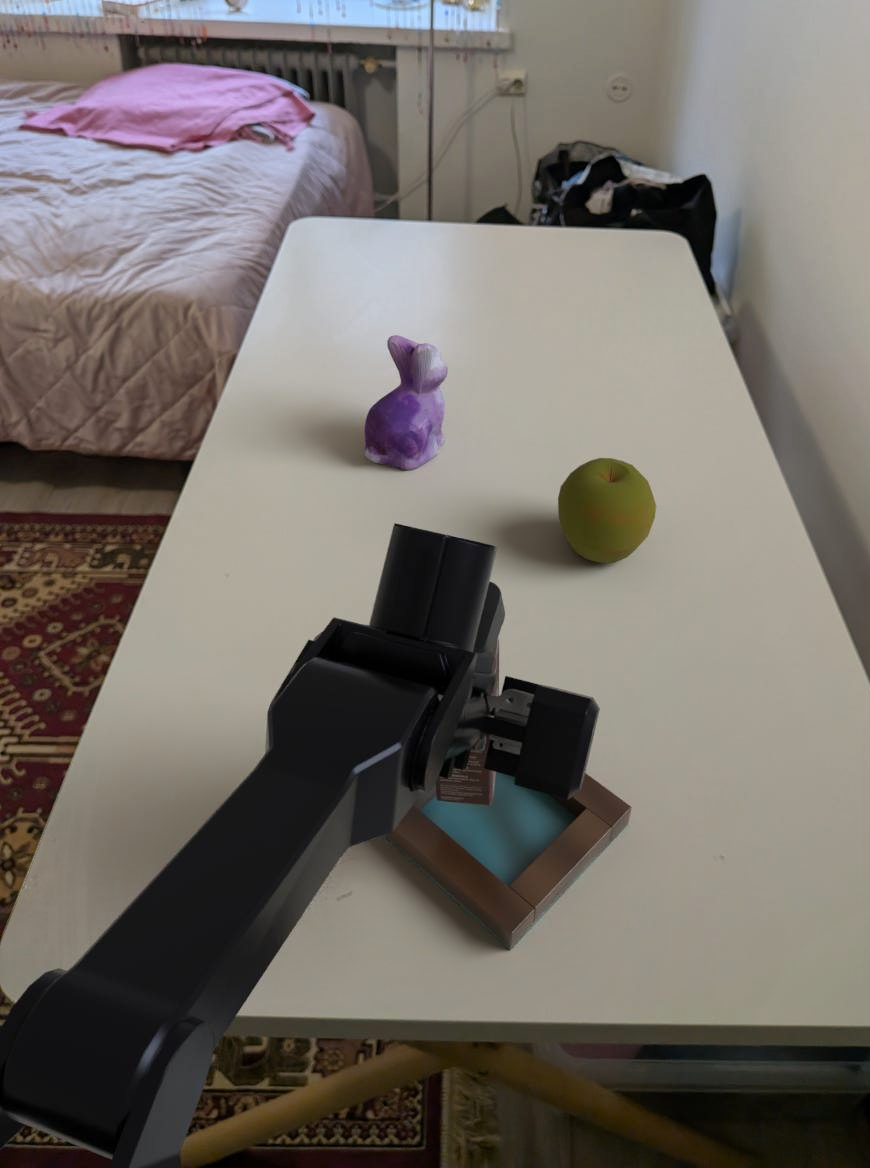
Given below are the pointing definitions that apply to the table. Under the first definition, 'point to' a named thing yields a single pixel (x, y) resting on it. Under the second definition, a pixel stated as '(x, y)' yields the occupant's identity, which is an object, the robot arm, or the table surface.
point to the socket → (510, 849)
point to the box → (472, 768)
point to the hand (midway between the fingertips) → (471, 704)
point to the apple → (606, 509)
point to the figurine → (408, 408)
